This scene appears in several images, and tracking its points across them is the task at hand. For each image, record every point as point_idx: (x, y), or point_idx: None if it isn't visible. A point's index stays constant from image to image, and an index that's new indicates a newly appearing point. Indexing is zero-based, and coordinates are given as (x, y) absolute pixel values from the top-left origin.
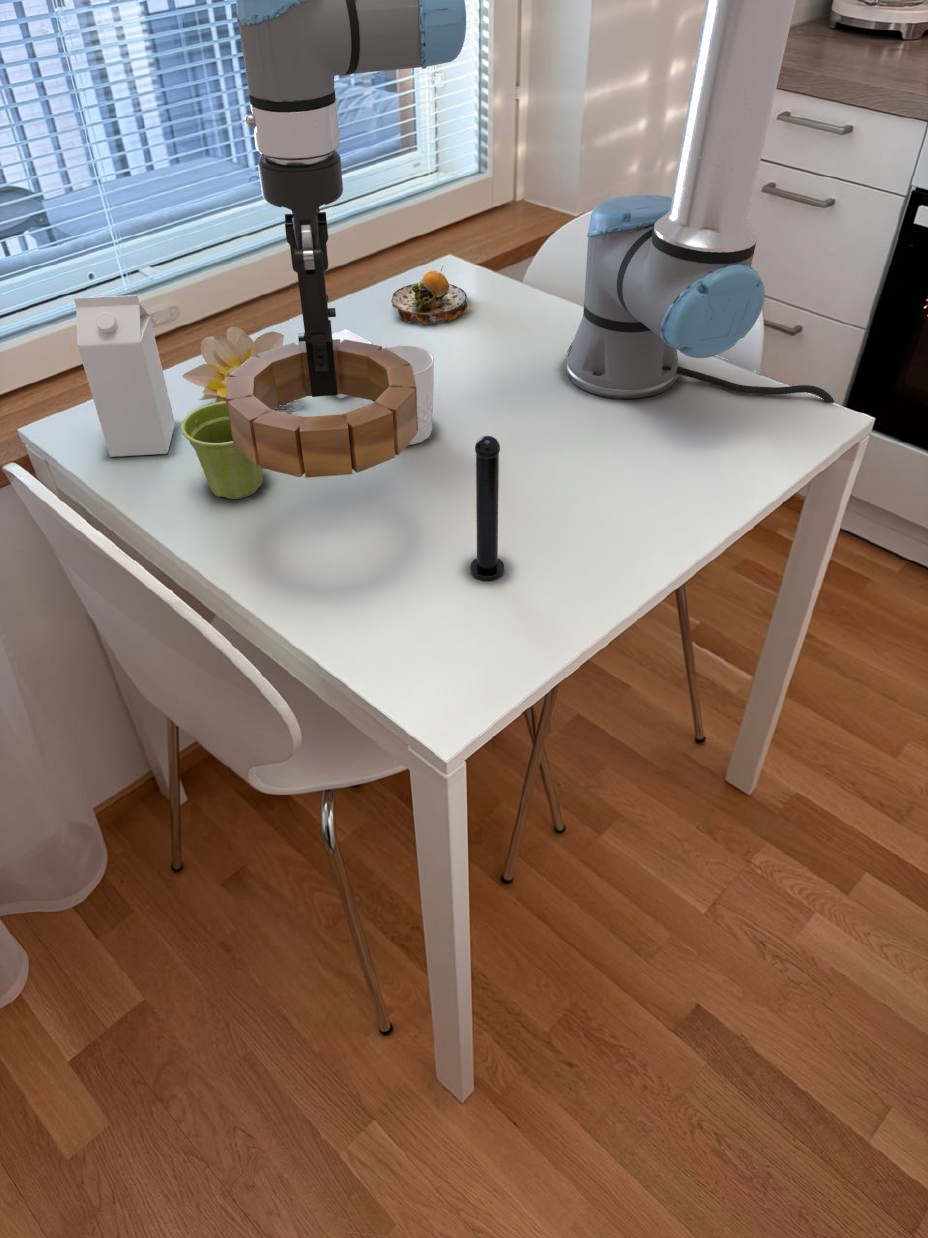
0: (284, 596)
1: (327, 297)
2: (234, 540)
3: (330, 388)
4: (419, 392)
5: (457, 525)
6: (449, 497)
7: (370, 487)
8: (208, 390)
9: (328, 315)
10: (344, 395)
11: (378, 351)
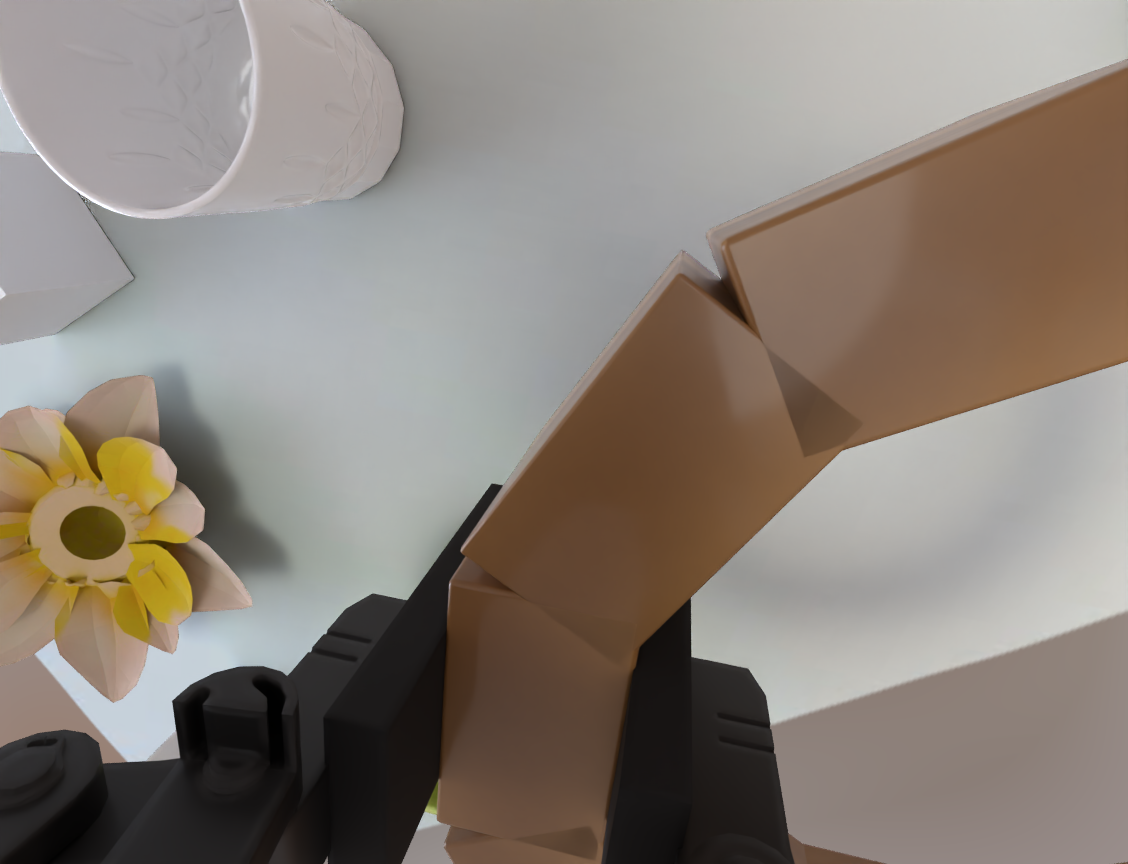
0: (1003, 579)
1: (28, 792)
2: (726, 635)
3: None
4: (300, 15)
5: (899, 38)
6: (729, 32)
7: (599, 281)
8: (155, 634)
9: (298, 761)
10: (121, 266)
11: (786, 332)
